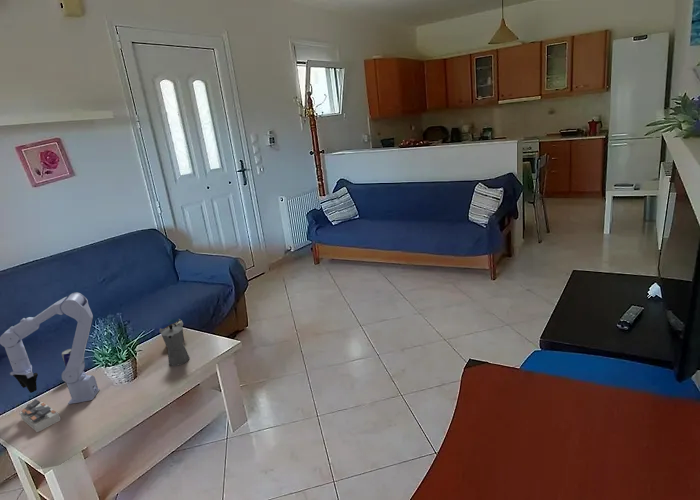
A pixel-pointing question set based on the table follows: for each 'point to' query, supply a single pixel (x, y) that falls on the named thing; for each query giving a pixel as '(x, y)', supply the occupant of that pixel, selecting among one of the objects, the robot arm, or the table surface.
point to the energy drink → (66, 356)
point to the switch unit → (42, 419)
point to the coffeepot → (175, 345)
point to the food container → (179, 324)
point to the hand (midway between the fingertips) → (29, 388)
